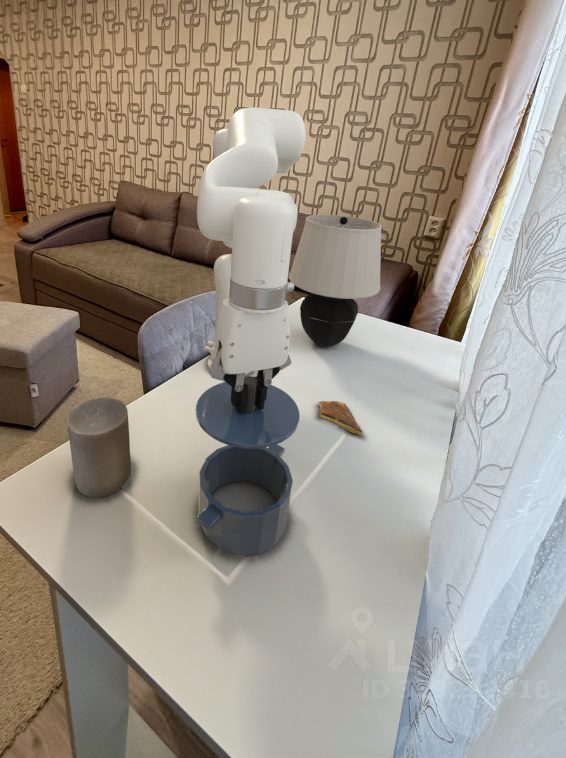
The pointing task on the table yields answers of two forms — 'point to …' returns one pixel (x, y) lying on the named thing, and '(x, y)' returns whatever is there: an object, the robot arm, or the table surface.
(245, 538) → the pot
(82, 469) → the pillar candle
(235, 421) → the lid
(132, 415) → the table surface
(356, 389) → the table surface
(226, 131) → the robot arm
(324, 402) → the cake slice
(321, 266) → the table lamp
